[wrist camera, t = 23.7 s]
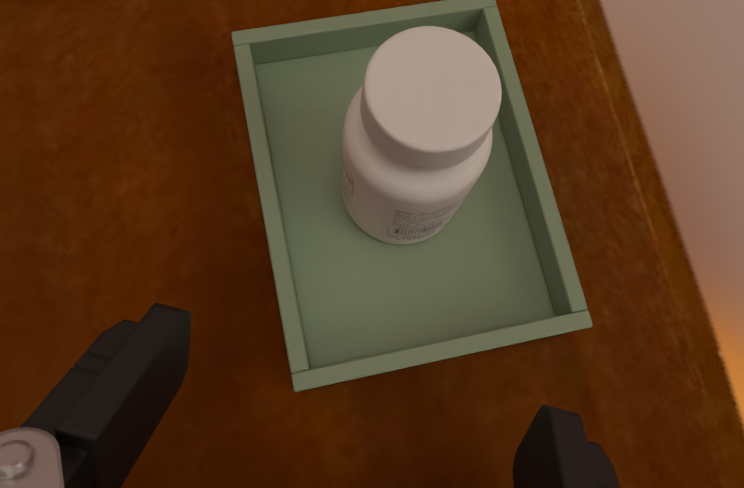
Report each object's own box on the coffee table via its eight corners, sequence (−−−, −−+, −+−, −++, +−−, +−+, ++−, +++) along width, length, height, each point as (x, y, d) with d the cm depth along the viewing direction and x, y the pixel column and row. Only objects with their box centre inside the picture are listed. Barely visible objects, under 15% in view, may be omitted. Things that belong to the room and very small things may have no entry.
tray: (570, 331, 21) (593, 326, 19) (298, 391, 20) (293, 392, 18) (480, 24, 24) (493, -8, 22) (239, 61, 22) (230, 31, 21)
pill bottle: (479, 180, 21) (555, 72, 14) (413, 270, 20) (456, 205, 13) (387, 115, 22) (413, -25, 14) (317, 200, 21) (306, 98, 13)
